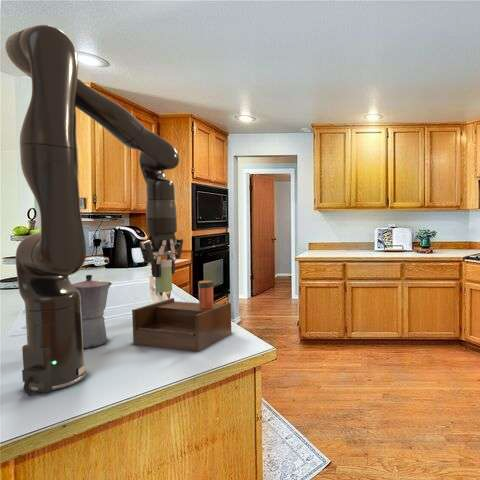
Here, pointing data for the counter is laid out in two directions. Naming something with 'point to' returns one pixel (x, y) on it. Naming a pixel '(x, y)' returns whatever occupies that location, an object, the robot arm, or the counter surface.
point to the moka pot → (93, 310)
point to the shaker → (164, 276)
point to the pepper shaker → (205, 294)
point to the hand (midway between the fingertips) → (163, 275)
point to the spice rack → (180, 325)
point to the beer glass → (157, 295)
